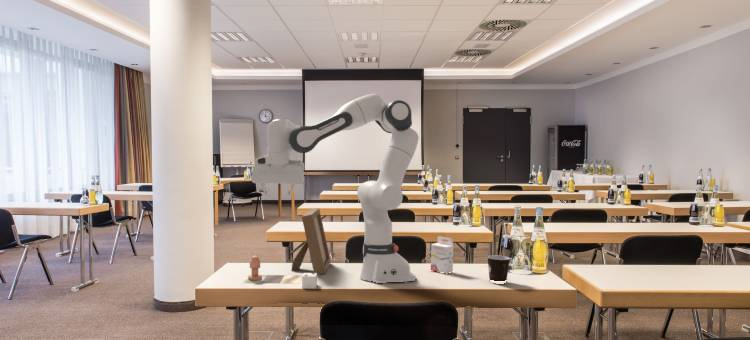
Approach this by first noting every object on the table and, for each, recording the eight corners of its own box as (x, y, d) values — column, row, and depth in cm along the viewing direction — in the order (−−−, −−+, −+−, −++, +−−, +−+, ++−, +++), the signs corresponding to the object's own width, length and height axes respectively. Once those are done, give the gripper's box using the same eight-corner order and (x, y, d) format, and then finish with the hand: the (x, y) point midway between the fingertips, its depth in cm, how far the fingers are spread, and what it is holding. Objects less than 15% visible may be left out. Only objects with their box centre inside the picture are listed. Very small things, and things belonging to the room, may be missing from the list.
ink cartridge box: (429, 271, 215) (430, 237, 214) (436, 269, 218) (437, 235, 218) (447, 274, 209) (447, 239, 208) (453, 272, 213) (454, 238, 212)
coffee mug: (488, 278, 204) (488, 254, 203) (510, 280, 201) (510, 256, 200) (484, 285, 193) (485, 260, 192) (507, 288, 190) (508, 262, 189)
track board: (304, 276, 202) (304, 274, 202) (300, 285, 188) (300, 284, 188) (247, 275, 201) (247, 274, 201) (239, 284, 187) (239, 283, 187)
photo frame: (330, 263, 225) (331, 208, 224) (325, 275, 203) (325, 214, 202) (298, 262, 225) (298, 207, 224) (288, 274, 204) (289, 213, 203)
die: (316, 286, 188) (316, 272, 188) (315, 289, 183) (315, 276, 183) (303, 286, 188) (303, 272, 188) (302, 289, 183) (302, 276, 183)
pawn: (262, 277, 197) (263, 254, 197) (260, 280, 192) (260, 257, 192) (249, 277, 197) (249, 254, 197) (246, 280, 192) (246, 257, 191)
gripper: (305, 160, 200) (305, 194, 200) (253, 159, 199) (253, 193, 199) (304, 160, 193) (303, 196, 194) (250, 159, 192) (250, 195, 193)
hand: (277, 195), depth 197 cm, fingers open, 8 cm apart
